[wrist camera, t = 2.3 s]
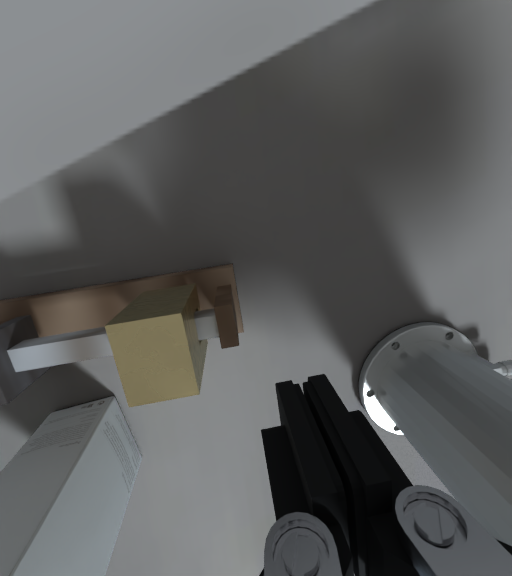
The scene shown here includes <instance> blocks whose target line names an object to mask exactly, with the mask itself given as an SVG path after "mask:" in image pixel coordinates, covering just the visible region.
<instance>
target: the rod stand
mask: <svg viewBox="0 0 512 576" xmlns="http://www.w3.org/2000/svg"><path fill="white" fill-rule="evenodd" d="M194 283H196V288H197V293H198V298H199V302H200V307H201V311H195V314H194V319H195V324H196V329H197V334H198V338H199V340H205V339H211V338H217V337H220V342H221V348H222V349H223V348H229V347H234V346H239V339H238V333H241V332H244V330H243V324H242V318H241V312H240V306H239V300H238V294H237V288H236V282H235V276H234V270H233V264H226V265H220V266H214V267H208V268H201V269H195V270H189V271H182V272H176V273H170V274H163V275H157V276H151V277H144V278H138V279H132V280H126V281H119V282H113V283H107V284H100V285H94V286H88V287H81V288H75V289H69V290H63V291H56V292H50V293H44V294H37V295H31V296H25V297H18V298H12V299H6V300H0V405H4V404H8V403H9V402H10V401H12V400H13V399H14V398H15V397H16V396H17V395H19V394H20V393H21V392H22V391H23V390H25V389H26V388H27V387H28V386H29V385H30V384H32V383H33V382H34V381H35V380H36V379H37V378H39V377H40V376H41V375H42V374H43V373H45V372H46V371H47V370H48V369H49V368H50V366H55V365H61V364H67V363H72V362H78V361H84V360H90V359H95V358H101V357H107V356H113V353H112V349H111V346H110V343H109V339H108V336H107V333H106V329H105V325H106V324H107V323H108V322H109V321H111V320H112V319H113V318H114V317H115V316H116V315H117V314H118V313H120V312H121V311H122V310H123V309H124V308H125V307H126V306H128V305H129V304H130V303H131V302H132V301H133V300H134V299H135V298H137V297H138V296H139V295H140V294H141V293H142V292H145V291H151V290H157V289H163V288H169V287H176V286H182V285H188V284H194Z"/></svg>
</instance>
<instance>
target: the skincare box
mask: <svg viewBox="0 0 512 576" xmlns="http://www.w3.org/2000/svg"><path fill="white" fill-rule="evenodd" d="M141 461H142V456H141V454H140V452H139V449H138V447H137V445H136V443H135V440H134V438H133V436H132V434H131V431H130V429H129V427H128V425H127V422H126V420H125V418H124V416H123V413H122V411H121V409H120V407H119V404H118V402H117V400H116V398H115V397H114V396H111V397H108V398H104V399H100V400H96V401H93V402H89V403H85V404H81V405H78V406H74V407H71V408H67V409H63V410H59V411H56V412H52V413H50V414H49V415H48V417H47V418H46V419H45V420H44V421H43V423H42V424H41V425H40V426H39V427H38V429H37V430H36V431H35V432H34V433H33V434H32V436H31V437H30V438H29V439H28V440H27V442H26V443H25V444H24V445H23V446H22V448H21V449H20V450H19V451H18V452H17V454H16V455H15V456H14V457H13V458H12V460H11V461H10V462H9V463H8V464H7V465H6V467H5V468H4V469H3V470H2V471H1V473H0V576H105V575H106V571H107V568H108V565H109V562H110V559H111V555H112V552H113V549H114V546H115V543H116V540H117V536H118V533H119V530H120V527H121V524H122V521H123V517H124V514H125V511H126V508H127V505H128V501H129V498H130V495H131V492H132V489H133V486H134V482H135V479H136V476H137V473H138V470H139V467H140V463H141Z"/></svg>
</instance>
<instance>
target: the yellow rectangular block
mask: <svg viewBox="0 0 512 576" xmlns="http://www.w3.org/2000/svg"><path fill="white" fill-rule="evenodd" d="M195 311H201V307H200V302H199V298H198V293H197V288H196V283H194V284H188V285H182V286H176V287H169V288H163V289H157V290H151V291H145V292H142V293H141V294H140V295H139V296H138V297H137V298H135V299H134V300H133V301H132V302H131V303H130V304H129V305H128V306H126V307H125V308H124V309H123V310H122V311H121V312H120V313H118V314H117V315H116V316H115V317H114V318H113V319H112V320H111V321H109V322H108V323H107V324H106V325H105V329H106V333H107V336H108V339H109V343H110V346H111V349H112V353H113V356H114V359H115V363H116V366H117V369H118V372H119V376H120V379H121V382H122V386H123V389H124V392H125V396H126V399H127V402H128V406H129V407H134V406H139V405H144V404H150V403H155V402H161V401H166V400H172V399H177V398H182V397H188V396H193V395H199V394H200V387H201V381H202V375H203V369H204V362H205V356H206V350H207V344H208V342H207V339H205V340H199V338H198V334H197V329H196V324H195V319H194V314H195Z"/></svg>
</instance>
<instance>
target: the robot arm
mask: <svg viewBox="0 0 512 576" xmlns="http://www.w3.org/2000/svg"><path fill="white" fill-rule="evenodd" d="M511 375H512V360H508V361H502V362H498V363H496V364H493V363H491V362H489V361H487V360H485V359H484V358H482V357H480V356H478V355H477V352H476V349H475V348H474V346H473V344H472V343H471V341H470V340H469V339H468V338H467V337H466V336H465V335H463V334H462V333H460V332H458V331H457V330H455V329H453V328H451V327H448V326H446V325H444V324H439V323H434V322H421V323H416V324H410V325H408V326H405V327H402V328H400V329H398V330H396V331H394V332H393V333H391V334H389V335H388V336H387V337H385V338H384V339H383V340H382V341H380V342H379V343H378V344H377V345H376V347H375V348H374V349H373V350H372V351H371V353H370V354H369V356H368V357H367V359H366V361H365V363H364V365H363V368H362V370H361V374H360V379H359V395H360V399H361V403H362V405H363V407H364V409H365V411H366V412H367V413H368V415H369V416H370V418H371V419H372V420H373V421H374V422H375V423H376V424H377V425H378V426H380V427H381V428H383V429H385V430H386V431H389V432H391V433H394V434H400V435H404V436H405V437H406V438H407V440H408V441H409V442H410V443H411V444H412V446H413V447H414V448H415V449H416V451H417V452H418V453H419V454H420V456H421V457H422V458H423V459H424V461H425V462H426V463H427V464H428V466H429V467H430V468H431V469H432V470H433V472H434V473H435V474H436V475H437V477H438V478H439V479H440V480H441V482H442V483H443V484H444V485H445V487H446V488H447V489H448V490H449V492H450V493H451V494H452V495H453V496H454V498H455V499H456V500H457V501H458V502H457V501H456V500H455V499H454V498H453V497H451V496H450V495H448V494H446V493H444V492H443V491H441V490H439V489H436V488H432V487H429V486H422V485H415V486H413V485H412V483H411V482H410V481H409V479H408V478H407V476H406V475H405V473H404V472H403V470H402V469H401V468H400V466H399V465H398V463H397V462H396V460H395V459H394V458H393V456H392V455H391V453H390V452H389V450H388V449H387V448H386V446H385V445H384V443H383V442H382V440H381V439H380V438H379V436H378V435H377V433H376V432H375V430H374V429H373V427H372V426H371V425H370V423H369V422H368V420H367V419H366V417H365V416H364V415H363V413H362V412H361V411H359V410H357V411H352V412H348V410H347V409H346V407H345V405H344V404H343V402H342V401H341V399H340V398H339V396H338V394H337V393H336V391H335V390H334V388H333V386H332V385H331V383H330V382H329V380H328V379H327V377H326V376H325V374H321V375H316V376H311V377H308V382H303V391H304V394H303V392H302V390H301V387H300V385H299V384H293V382H292V381H291V380H290V381H285V382H279V383H276V393H277V400H278V407H279V414H280V421H281V426H277V427H273V428H268V429H263V430H261V433H262V439H263V445H264V451H265V457H266V463H267V469H268V475H269V481H270V486H271V492H272V498H273V504H274V510H275V516H276V522H275V524H274V525H273V526H272V527H271V529H270V531H269V533H268V535H267V538H266V543H265V550H264V569H263V570H262V572H261V574H260V575H259V576H354V574H355V576H512V379H509V378H507V377H506V376H511Z"/></svg>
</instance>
